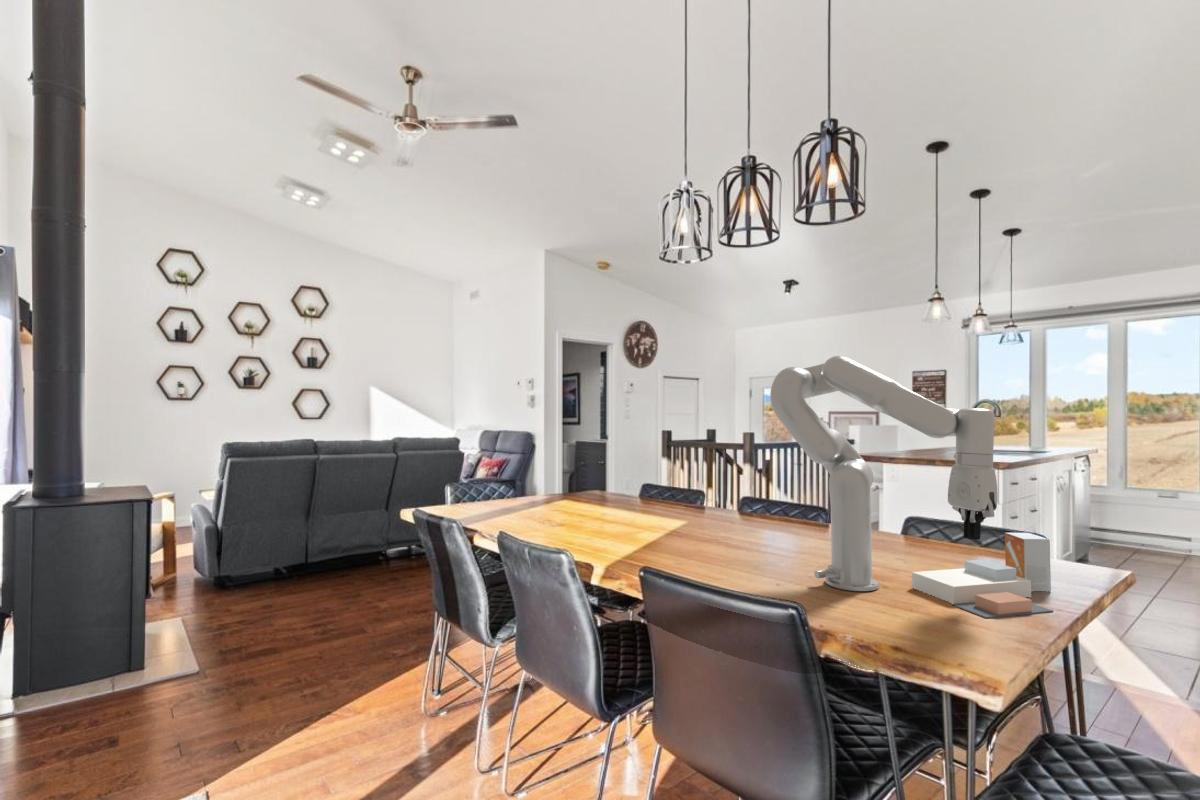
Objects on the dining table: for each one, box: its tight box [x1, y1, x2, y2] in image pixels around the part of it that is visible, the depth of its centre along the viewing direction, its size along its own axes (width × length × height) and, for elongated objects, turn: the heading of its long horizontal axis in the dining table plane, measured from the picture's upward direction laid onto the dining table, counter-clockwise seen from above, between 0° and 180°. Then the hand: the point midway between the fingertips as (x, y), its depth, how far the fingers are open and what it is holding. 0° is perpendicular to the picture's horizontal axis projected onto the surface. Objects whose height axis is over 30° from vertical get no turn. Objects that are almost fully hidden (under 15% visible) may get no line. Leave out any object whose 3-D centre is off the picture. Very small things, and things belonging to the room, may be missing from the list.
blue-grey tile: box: [964, 558, 1016, 580], centre depth 146 cm, size 9×6×2 cm, turn 13°
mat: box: [951, 602, 1054, 619], centre depth 133 cm, size 18×9×1 cm, turn 103°
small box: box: [1004, 532, 1052, 593], centre depth 149 cm, size 8×6×13 cm
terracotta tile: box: [975, 592, 1033, 615], centre depth 132 cm, size 9×6×2 cm, turn 103°
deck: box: [911, 567, 1032, 604], centre depth 145 cm, size 22×13×4 cm, turn 103°
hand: (971, 538), depth 139 cm, fingers closed
